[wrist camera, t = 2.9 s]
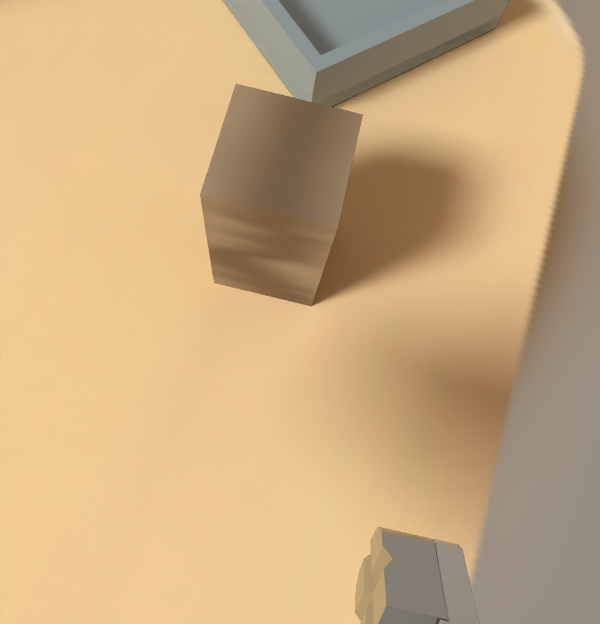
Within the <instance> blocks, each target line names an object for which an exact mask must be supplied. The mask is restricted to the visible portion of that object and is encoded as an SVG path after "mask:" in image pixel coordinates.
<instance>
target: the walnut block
mask: <svg viewBox="0 0 600 624" xmlns="http://www.w3.org/2000/svg"><path fill="white" fill-rule="evenodd" d="M362 116H363V115H362V114H358V113H354V112H350V111H346V110H342V109H338V108H334V107H329V106H325V105H321V104H317V103H313V102H309V101H305V100H301V99H297V98H293V97H289V96H284V95H280V94H276V93H272V92H268V91H264V90H260V89H256V88H252V87H248V86H244V85H239V84H236V85H235V88H234V91H233V94H232V98H231V101H230V104H229V107H228V110H227V113H226V116H225V119H224V122H223V125H222V128H221V132H220V135H219V138H218V141H217V144H216V147H215V150H214V153H213V156H212V159H211V163H210V166H209V169H208V172H207V175H206V178H205V181H204V184H203V187H202V190H201V193H200V197H201V203H202V210H203V216H204V222H205V229H206V235H207V241H208V248H209V254H210V260H211V267H212V273H213V279H214V283H216V284H220V285H225V286H229V287H233V288H237V289H241V290H246V291H250V292H254V293H258V294H262V295H266V296H271V297H275V298H279V299H283V300H287V301H292V302H296V303H300V304H304V305H308V306H312V303H313V300H314V297H315V294H316V291H317V288H318V285H319V282H320V280H321V277H322V274H323V271H324V268H325V265H326V262H327V259H328V256H329V253H330V250H331V247H332V244H333V241H334V238H335V235H336V232H337V229H338V225H339V221H340V216H341V212H342V207H343V203H344V198H345V193H346V189H347V184H348V180H349V175H350V171H351V166H352V162H353V157H354V153H355V148H356V143H357V139H358V134H359V130H360V125H361V121H362Z"/></svg>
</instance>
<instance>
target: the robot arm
mask: <svg viewBox="0 0 600 624" xmlns="http://www.w3.org/2000/svg"><path fill="white" fill-rule="evenodd" d="M355 613H356V615H357V616H358V618H359V619H360V621H361V624H479V620H478V616H477V611H476V607H475V602H474V599H473V594H472V589H471V585H470V581H469V576H468V572H467V568H466V563H465V559H464V555H463V550H462V549H461V547H460V546H459V545H458V544H454V543H449V542H445V541H440V540H436V539H430V538H427V537H422V536H418V535H413V534H409V533H404V532H400V531H395V530H391V529H386V528H382V527H378V528H377V529H376V530H375V532H374V534H373V537H372V539H371V554H370V555H368V556H367V557H365V558H364V559H363V562H362V565H361V568H360V571H359V575H358V580H357V585H356V595H355Z"/></svg>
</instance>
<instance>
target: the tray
mask: <svg viewBox="0 0 600 624" xmlns="http://www.w3.org/2000/svg"><path fill="white" fill-rule="evenodd" d="M509 1H510V0H223V2H224V3H225V4H226V6H227V7H228V8H229V10H230V11H231V12H232V14H233V15H234V17H235V18H236V19H237V21H238V22H239V23H240V25H241V26H242V27H243V29H244V30H245V31H246V33H247V34H248V36H249V37H250V38H251V40H252V41H253V42H254V44H255V45H256V46H257V48H258V49H259V51H260V52H261V53H262V55H263V56H264V57H265V59H266V60H267V61H268V63H269V64H270V66H271V67H272V68H273V70H274V71H275V72H276V74H277V75H278V76H279V78H280V79H281V80H282V82H283V83H284V85H285V86H286V87H287V89H288V90H289V91H290V93H291V94H292V95H293V97H294V98H297V99H301V100H305V101H309V102H313V103H317V104H321V105H325V106H329V107H332V106H334V105H336V104H338V103H341V102H343V101H345V100H347V99H349V98H351V97H353V96H355V95H357V94H359V93H362V92H364V91H366V90H368V89H370V88H372V87H374V86H376V85H378V84H380V83H382V82H385V81H387V80H389V79H391V78H393V77H395V76H397V75H399V74H401V73H403V72H405V71H408V70H410V69H412V68H414V67H416V66H418V65H420V64H422V63H424V62H426V61H428V60H431V59H433V58H435V57H437V56H439V55H441V54H443V53H445V52H447V51H449V50H451V49H454V48H456V47H458V46H460V45H462V44H464V43H466V42H468V41H470V40H472V39H474V38H477V37H479V36H481V35H483V34H485V33H487V32H489V31H491V30H493V29H495V28H496V26H497V24H498V22H499V20H500V18H501V17H502V15H503V13H504V11H505V9H506V7H507V5H508V3H509Z"/></svg>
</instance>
